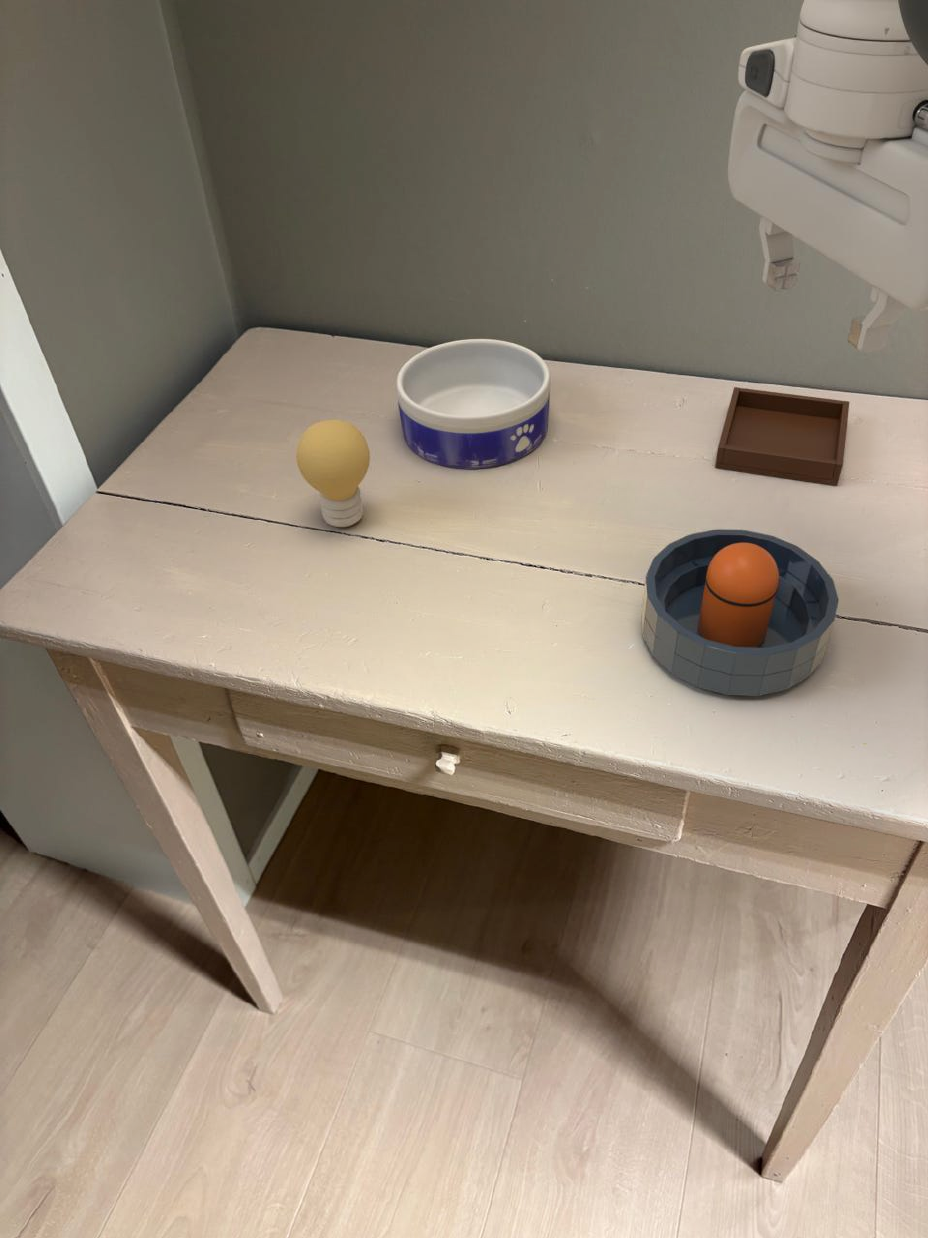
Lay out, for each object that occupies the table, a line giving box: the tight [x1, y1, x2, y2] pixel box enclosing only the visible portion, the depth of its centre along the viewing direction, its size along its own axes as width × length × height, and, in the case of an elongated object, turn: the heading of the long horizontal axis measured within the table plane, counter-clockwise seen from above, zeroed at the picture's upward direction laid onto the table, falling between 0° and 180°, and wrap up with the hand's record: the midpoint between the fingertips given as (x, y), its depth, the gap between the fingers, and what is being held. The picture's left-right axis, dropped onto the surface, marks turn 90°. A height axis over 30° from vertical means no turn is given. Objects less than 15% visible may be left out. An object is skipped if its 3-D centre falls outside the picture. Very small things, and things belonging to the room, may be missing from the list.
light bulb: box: [296, 419, 371, 528], centre depth 85 cm, size 6×6×10 cm
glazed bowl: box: [640, 528, 839, 697], centre depth 74 cm, size 14×14×5 cm
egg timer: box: [698, 543, 779, 648], centre depth 73 cm, size 5×5×8 cm
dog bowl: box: [396, 338, 551, 470], centre depth 97 cm, size 15×15×6 cm
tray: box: [714, 386, 850, 487], centre depth 93 cm, size 11×11×2 cm
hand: (819, 315), depth 63 cm, fingers open, 8 cm apart
